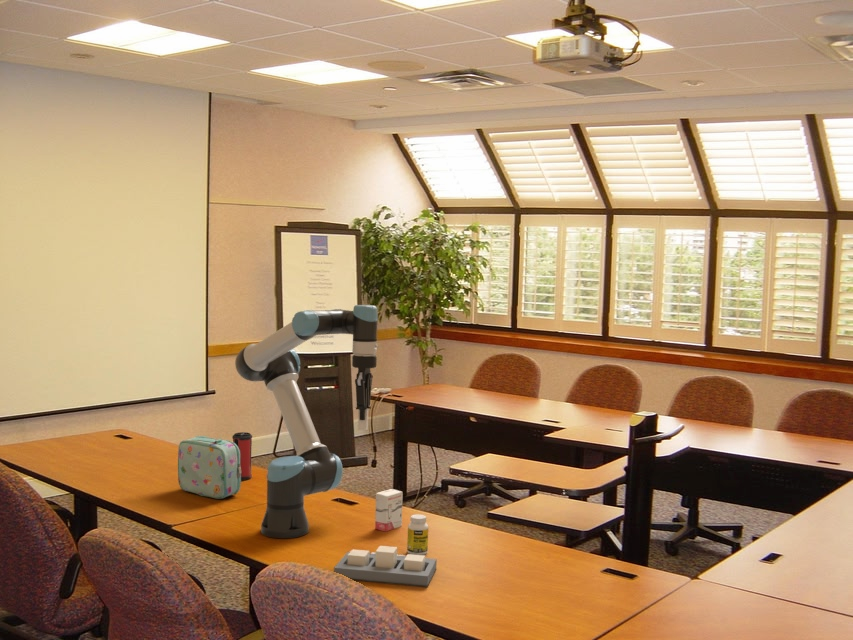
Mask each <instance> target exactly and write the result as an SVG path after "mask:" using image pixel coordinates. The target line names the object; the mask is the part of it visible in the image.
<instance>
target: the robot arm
mask: <svg viewBox="0 0 853 640" xmlns="http://www.w3.org/2000/svg"><path fill="white" fill-rule="evenodd" d="M378 317H379V316H378V308H377V306H375V305H371V304H368V305H367V304H355V305H354V306H353V310H349V309H346V310H345V309H341V308H339V309H331V310H328V309H327V310H308V309H307V310H300V311H297V312H296V313H295V314H294V316H293V317H292V320H291V322H289V323H288V324H286V325H285V326H283V327H282V328H280V329H278V330H276V331H275V332H273V333H271V334H270V335H269V336H267V337H265V338H264V339H261V341H260V340H259V342H257V343H250V344H248V345H247V346H245V347H244V348H243V349H241V350H240V351H239V352H238V353H237V355H236V357H235V361H234V364H235V365H234V366H235V370H236V372H237V373H238V374H239V376H240V377H241V378H242V379H244V380H246V381H249V382H264V384H265V387H266V389H267V390H268V391H270V392H272V393H273V395H274V398H275V400H276V403H277V405H278V409H279V411H280V414H281V416H282V418H283V421H284V424H285V427H286V430H287V432H288V433H289V437H290V440H291V442H292V444H293V447H294V450H295V451H296V455H288V456H286V455H285V456H280V457H277V458H275V459H272V460H271V461H270V463H269V464H268V466H267V474H266V479H267V480H266V481H267V483H266V486H267V487H266V490H267V491H266V510H265V512H264V516H263V518H262V521H261V523H260V524H261V526H260V534H261V535H263V536H264V537H268V538H273V539H294V538H300V537H303V536H305V535H307V534H308V533H309V530H310V529H309V528H310V525H309V521H308V517H307V514H306V511H305V503H304V501H305V496H309V495H313V494H314V495H315V494H319V493H326V492H328V491H330V490H333V489H336V488H337V487H338V486H339V484H341V482H342V478H343V470H344V469H343V464H342V463H343V462H342V460H341V459H340V457H339V456H338V455H336V454H335V453H331V452H330V451H329V448H328V446H327V445H325V444H323V443H321V440H320V438H319V435H318V433H317V431H316V428H315V426H314V425H315V424H314V423H313V421H312V420H313V419H312V418H311V415H310V412H309V410H308V407H307V406H306V402H305V401H304V398H303V396H302V395H303V394H302V393H301V391H300V387H299V386H298V384H297V382H298V379H299V373H300V372H301V359H300V356H299V355H298V352H296V350H294V349H295V348H297V347H299V346H301V345H302V344H303V343H305V342H307V341H308V340H311V339H313V338H314V337H316V336H321V335H323V336H324V335H340V334H341V335H345V334H346V335H352V352H351V353H352V354H353V355H352V361H351V363H352V364H351V365H352V368H354V369H356V368H357V369H358V370H357V373H356V378H355V380H354V382H355V384H354V385H355V395H356V398H355V399H356V400H355V401H356V407H355V410H358V414H357V415H358V416H357V418H358V421H357V423H358V424H357V430H358V431H368V430H369V428H368V427H369V409H371V408H372V407H371V395H372V383H373V378H374V376H373V374H372V373H371V372H372V371H371V369H375V368H376V367H377V362H378V361H377V360H378V359H377V356H376V355H377V353H378V352H377V351H378V350H377V348H379V344H378V341H377V340H378V339H377V338H378V321H379V318H378Z"/></svg>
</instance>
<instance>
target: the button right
mask: <svg viewBox="0 0 853 640" xmlns="http://www.w3.org/2000/svg"><path fill="white" fill-rule="evenodd" d="M425 558H426V555H425V554H424V555H413V554H409V553H407V556H406V558H405V559H404V569H405V570H416V571H425Z"/></svg>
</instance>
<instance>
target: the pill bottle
mask: <svg viewBox="0 0 853 640" xmlns="http://www.w3.org/2000/svg"><path fill="white" fill-rule="evenodd" d="M406 543H407V544H406V545H407V546H406V551H407V554H413V555H424V556H425V555H426V554H428V550H429V525H428V523H427V516H426V515H424V514H412V515H410V523H409V524H408V525H407V542H406Z"/></svg>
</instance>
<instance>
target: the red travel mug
mask: <svg viewBox="0 0 853 640" xmlns="http://www.w3.org/2000/svg"><path fill="white" fill-rule="evenodd" d="M231 437H232V442H233V443H235V444H236V445H237V446H238V448H239V450H240V467H241V472H242V473H241V481H248V480H251V479H252V478H253V477H252V442H253V441H252V440H253V435H252V434H251V433H250V432H244V431H243V432H236V433H234V434H233V435H232V436H231Z"/></svg>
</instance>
